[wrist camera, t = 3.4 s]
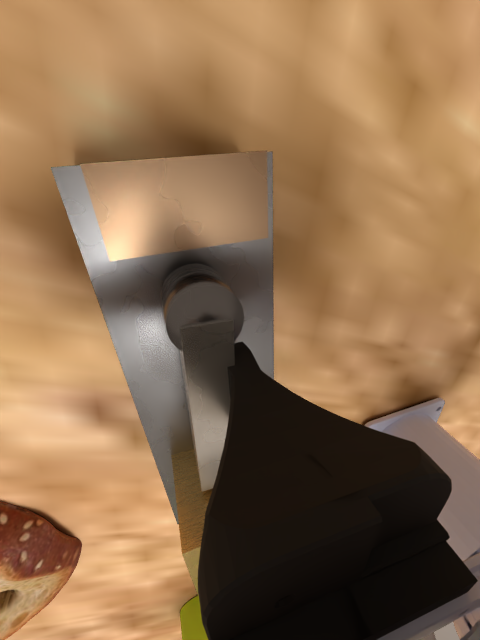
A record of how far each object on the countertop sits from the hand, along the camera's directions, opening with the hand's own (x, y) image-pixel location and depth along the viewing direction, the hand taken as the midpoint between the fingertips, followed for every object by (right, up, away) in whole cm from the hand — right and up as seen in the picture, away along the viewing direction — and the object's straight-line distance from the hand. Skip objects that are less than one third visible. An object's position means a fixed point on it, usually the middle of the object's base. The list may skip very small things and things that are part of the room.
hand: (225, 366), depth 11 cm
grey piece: (-2, 0, +4) cm, 4 cm away
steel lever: (-1, 0, 0) cm, 1 cm away
